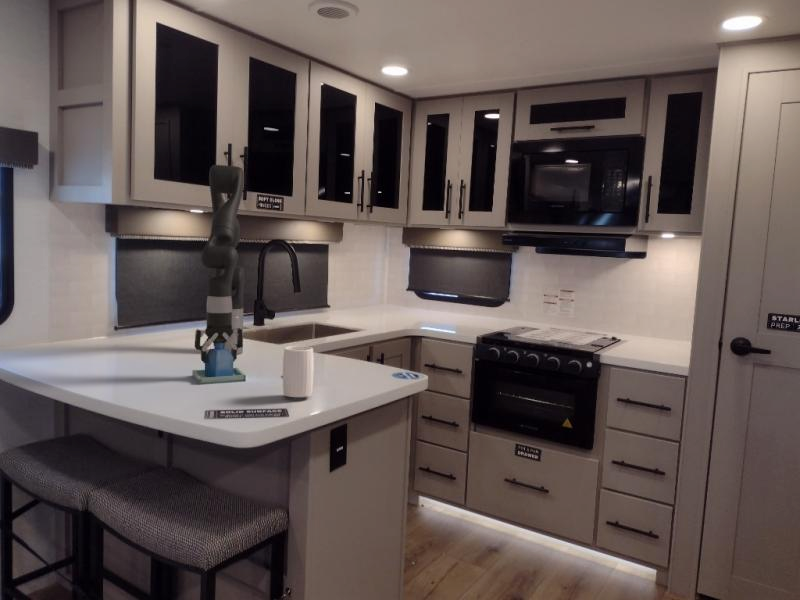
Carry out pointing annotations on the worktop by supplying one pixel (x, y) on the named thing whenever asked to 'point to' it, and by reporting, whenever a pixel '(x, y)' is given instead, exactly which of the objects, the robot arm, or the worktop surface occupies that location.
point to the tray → (201, 379)
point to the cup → (298, 371)
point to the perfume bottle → (219, 361)
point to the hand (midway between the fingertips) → (218, 361)
